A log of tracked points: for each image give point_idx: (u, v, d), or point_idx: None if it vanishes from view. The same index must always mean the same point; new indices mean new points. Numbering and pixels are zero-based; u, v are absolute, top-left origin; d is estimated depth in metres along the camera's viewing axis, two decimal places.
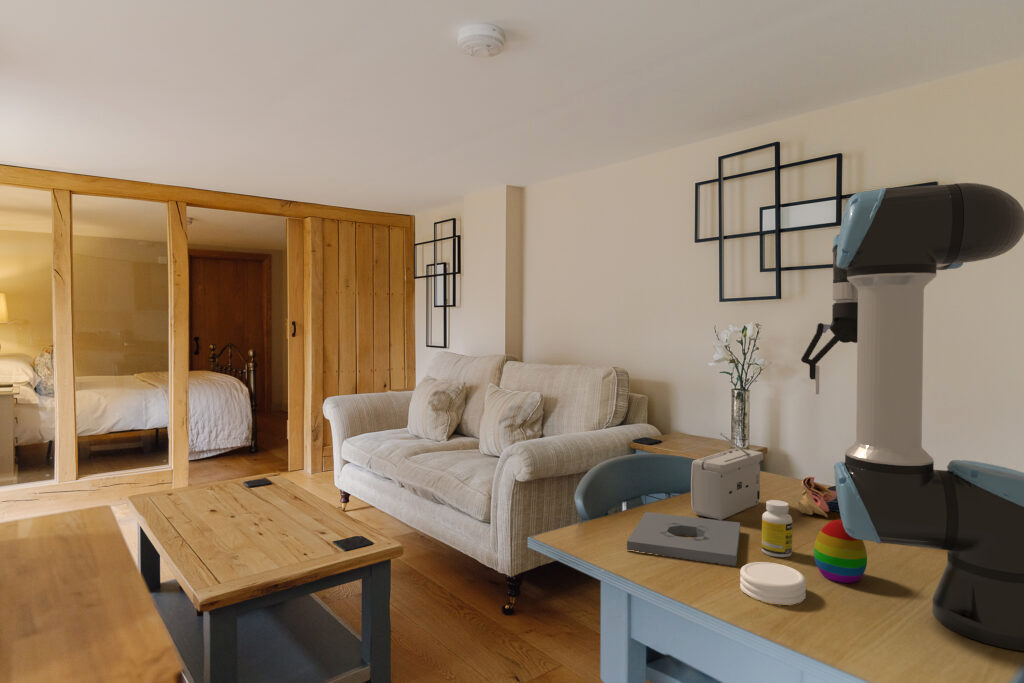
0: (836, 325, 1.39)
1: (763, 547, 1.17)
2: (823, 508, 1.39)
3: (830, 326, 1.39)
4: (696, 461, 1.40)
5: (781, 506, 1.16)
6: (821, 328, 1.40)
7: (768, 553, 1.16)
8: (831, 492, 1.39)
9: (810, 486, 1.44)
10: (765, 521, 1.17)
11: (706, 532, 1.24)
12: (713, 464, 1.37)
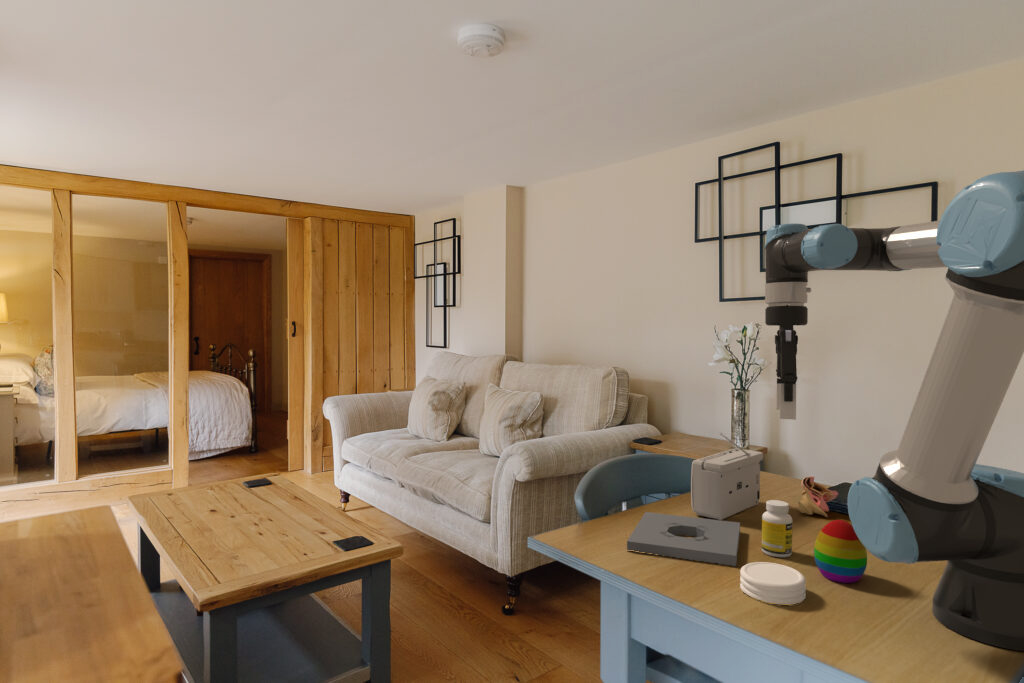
0: None
1: (763, 547, 1.17)
2: (823, 508, 1.39)
3: None
4: (696, 461, 1.40)
5: (781, 506, 1.16)
6: None
7: (768, 553, 1.16)
8: (831, 492, 1.39)
9: (810, 486, 1.44)
10: (765, 521, 1.17)
11: (706, 532, 1.24)
12: (713, 464, 1.37)
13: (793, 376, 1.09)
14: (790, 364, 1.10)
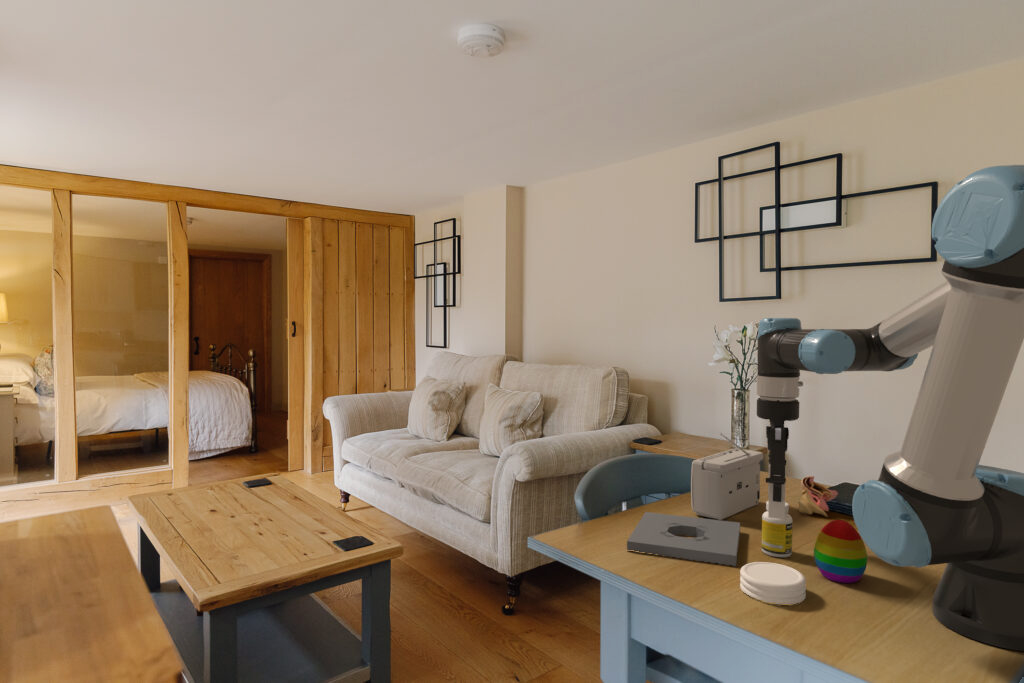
0: None
1: (763, 547, 1.17)
2: (823, 507, 1.39)
3: None
4: (696, 461, 1.40)
5: None
6: (770, 423, 1.23)
7: (768, 553, 1.16)
8: (831, 491, 1.39)
9: (810, 486, 1.44)
10: (765, 521, 1.17)
11: (706, 532, 1.24)
12: (713, 464, 1.37)
13: (781, 478, 1.08)
14: (779, 465, 1.09)
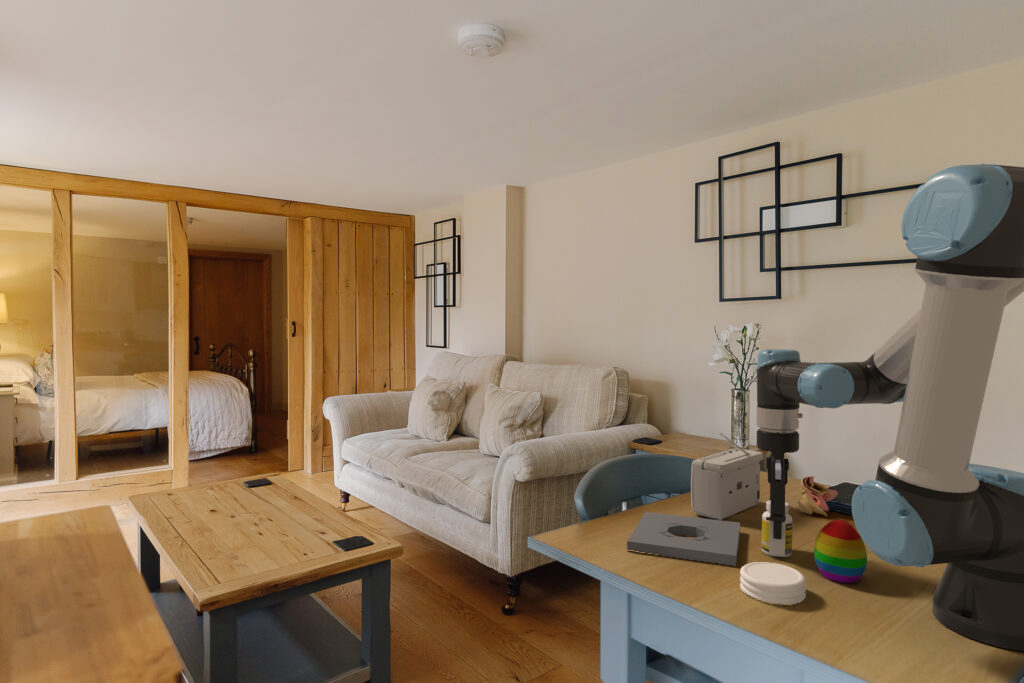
0: None
1: (763, 547, 1.17)
2: (823, 507, 1.40)
3: None
4: (696, 461, 1.40)
5: None
6: None
7: (768, 553, 1.16)
8: (830, 491, 1.39)
9: (809, 485, 1.44)
10: (765, 521, 1.17)
11: (706, 532, 1.24)
12: (713, 464, 1.37)
13: (781, 518, 1.11)
14: (779, 505, 1.11)
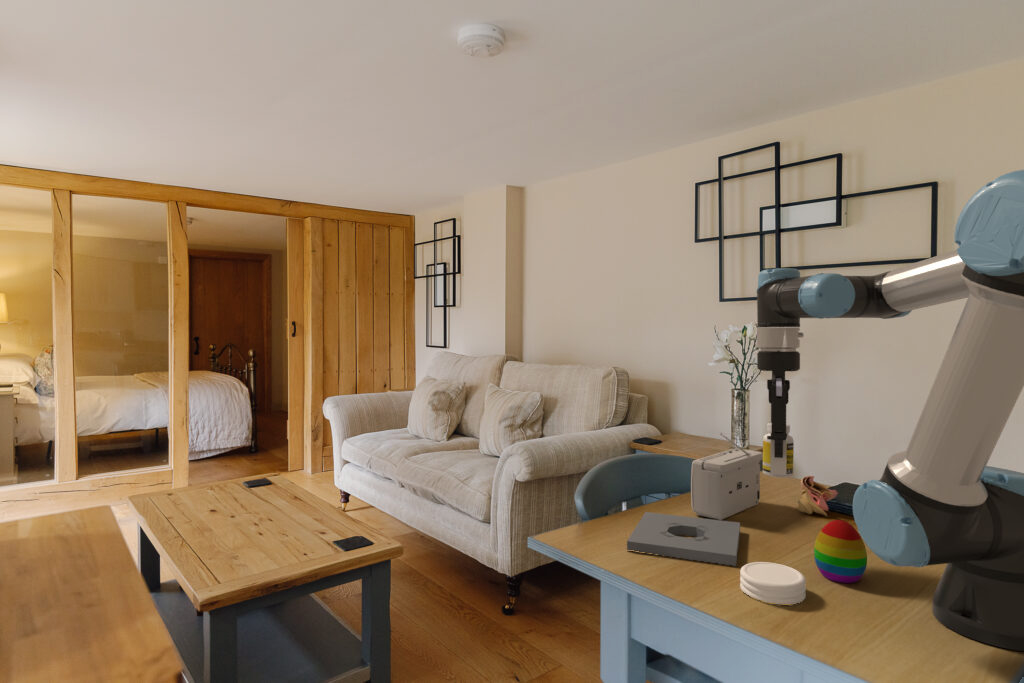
0: None
1: (764, 468, 1.17)
2: (822, 507, 1.40)
3: None
4: (696, 461, 1.40)
5: None
6: None
7: (769, 474, 1.16)
8: (830, 491, 1.39)
9: (809, 485, 1.44)
10: (766, 442, 1.16)
11: (706, 532, 1.24)
12: (713, 464, 1.37)
13: (783, 435, 1.11)
14: (780, 422, 1.11)
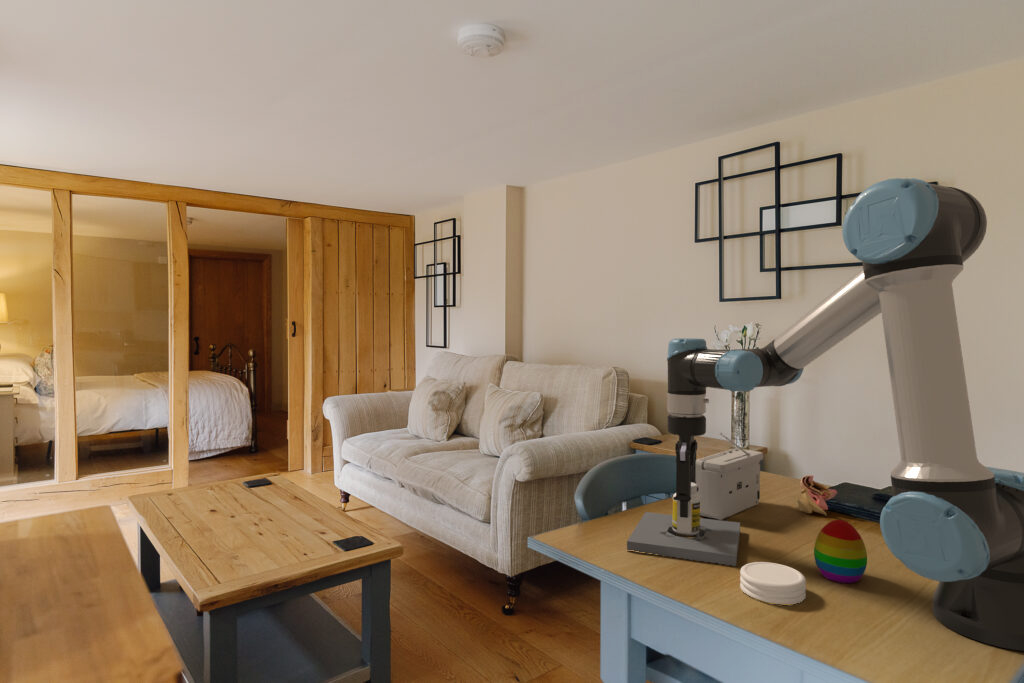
0: None
1: (673, 525, 1.24)
2: (822, 506, 1.40)
3: None
4: (696, 461, 1.40)
5: None
6: None
7: None
8: (830, 491, 1.40)
9: (809, 485, 1.45)
10: (674, 501, 1.23)
11: (706, 532, 1.24)
12: (713, 464, 1.37)
13: (686, 497, 1.18)
14: (683, 485, 1.18)
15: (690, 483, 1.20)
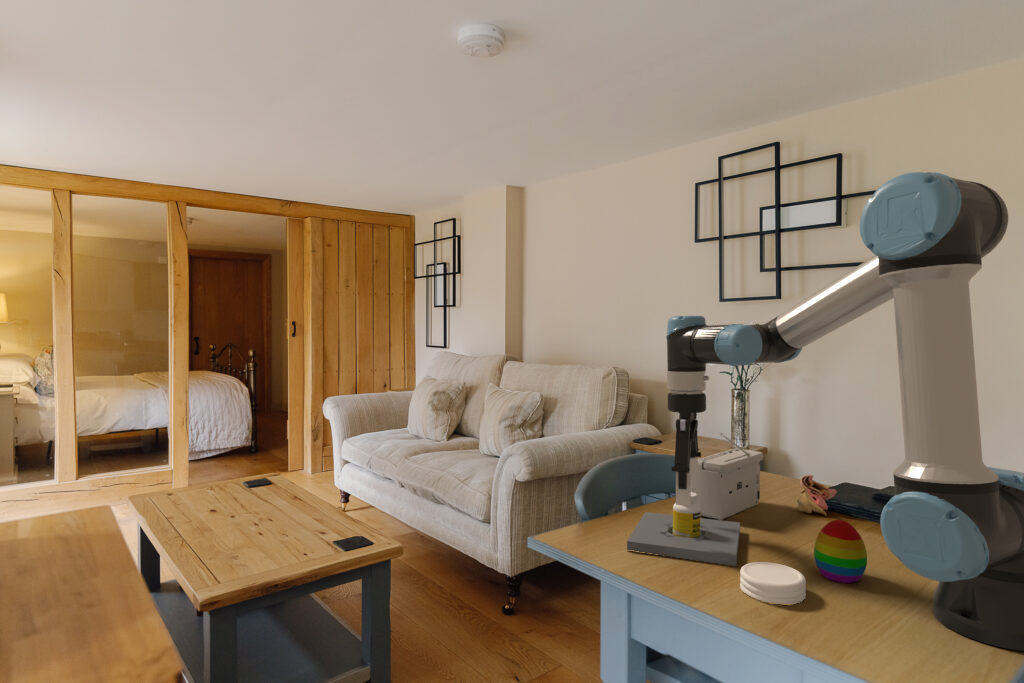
0: None
1: None
2: (822, 506, 1.40)
3: None
4: None
5: None
6: None
7: None
8: (830, 490, 1.40)
9: (809, 484, 1.45)
10: (675, 511, 1.23)
11: (706, 532, 1.24)
12: (713, 464, 1.37)
13: (684, 466, 1.14)
14: (682, 454, 1.15)
15: (689, 454, 1.17)
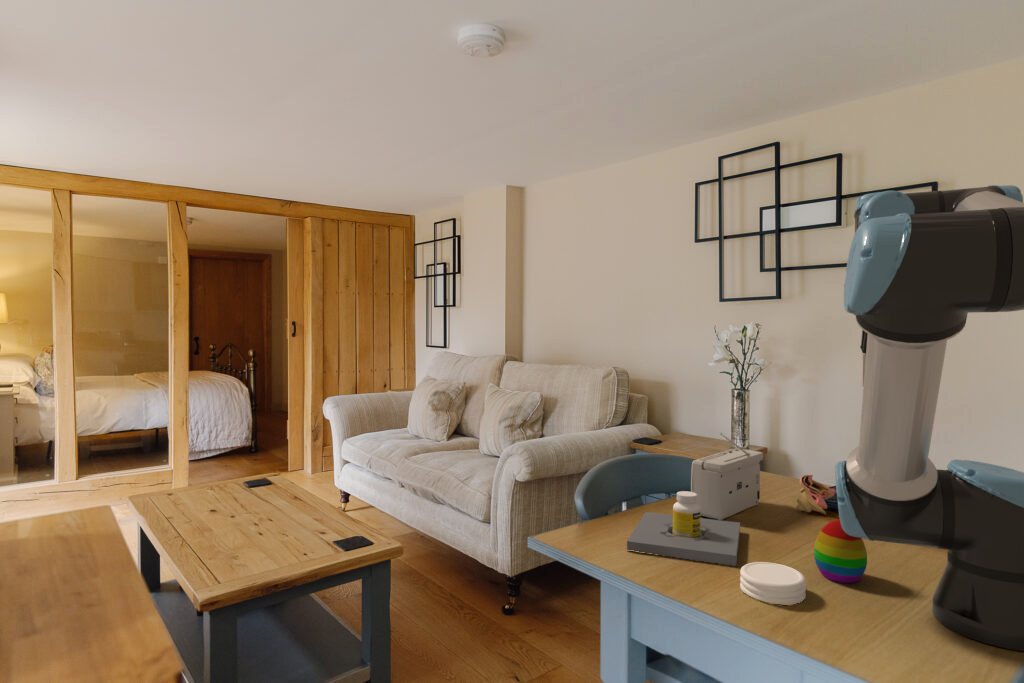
0: None
1: None
2: (821, 505, 1.41)
3: None
4: (696, 461, 1.40)
5: (689, 496, 1.22)
6: None
7: None
8: (829, 490, 1.41)
9: (808, 484, 1.46)
10: (675, 510, 1.23)
11: (706, 532, 1.24)
12: (713, 464, 1.37)
13: None
14: None
15: None
